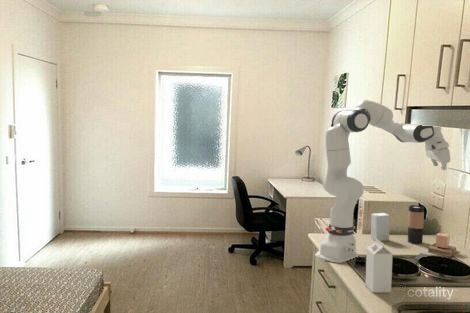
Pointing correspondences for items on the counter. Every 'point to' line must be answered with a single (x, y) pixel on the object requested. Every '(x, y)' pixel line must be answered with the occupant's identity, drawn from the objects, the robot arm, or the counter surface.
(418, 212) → the travel mug
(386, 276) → the milk carton
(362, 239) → the counter surface
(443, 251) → the post stand
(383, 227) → the skincare box
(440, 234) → the cap
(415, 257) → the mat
